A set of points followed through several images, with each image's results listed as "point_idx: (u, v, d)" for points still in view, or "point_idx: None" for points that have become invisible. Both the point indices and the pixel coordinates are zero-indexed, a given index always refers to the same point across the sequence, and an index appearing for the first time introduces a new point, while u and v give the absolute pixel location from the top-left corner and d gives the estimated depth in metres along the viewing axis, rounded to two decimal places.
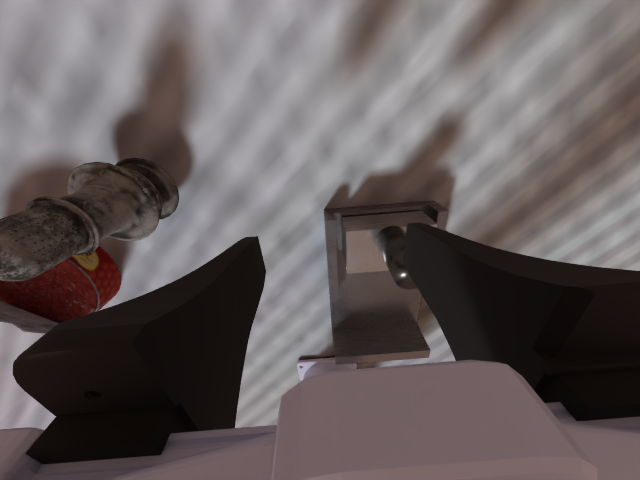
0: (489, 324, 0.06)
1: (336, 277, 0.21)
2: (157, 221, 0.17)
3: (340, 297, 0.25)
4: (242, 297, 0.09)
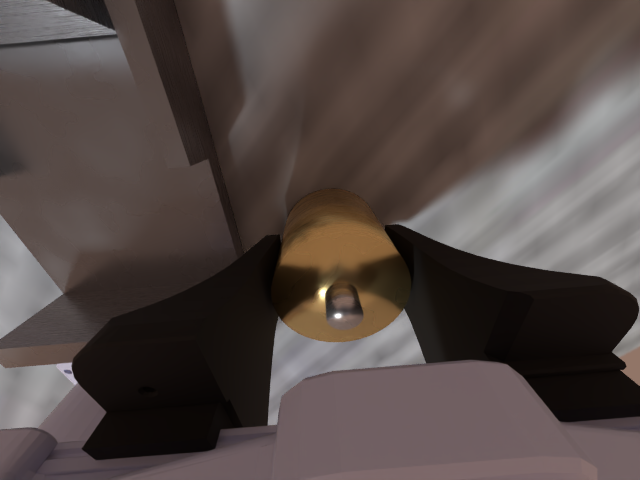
0: (450, 327, 0.06)
1: None
2: None
3: (20, 206, 0.10)
4: (269, 295, 0.09)
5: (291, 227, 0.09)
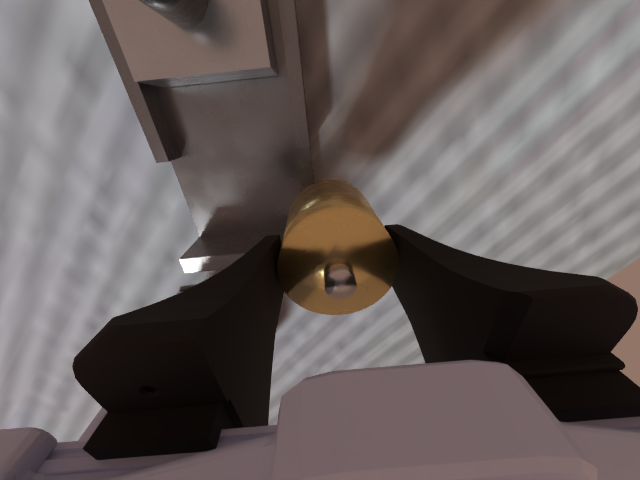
0: (449, 327, 0.06)
1: (148, 114, 0.14)
2: None
3: (191, 175, 0.17)
4: (270, 295, 0.09)
5: (294, 212, 0.11)
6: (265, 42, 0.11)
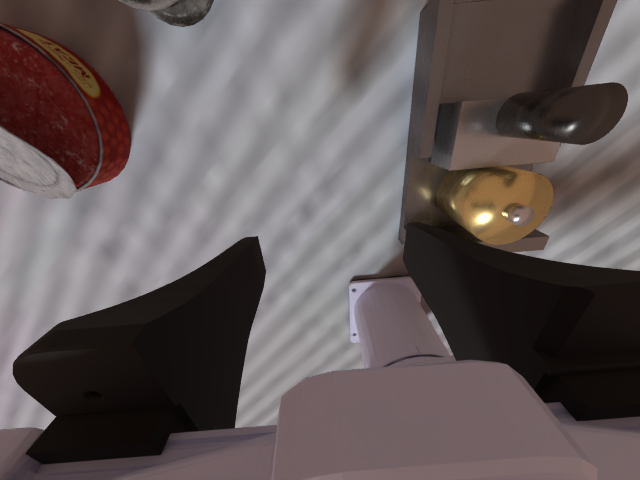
0: (489, 324, 0.06)
1: (435, 114, 0.15)
2: None
3: (423, 170, 0.18)
4: (242, 297, 0.09)
5: (469, 178, 0.16)
6: None
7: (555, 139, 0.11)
